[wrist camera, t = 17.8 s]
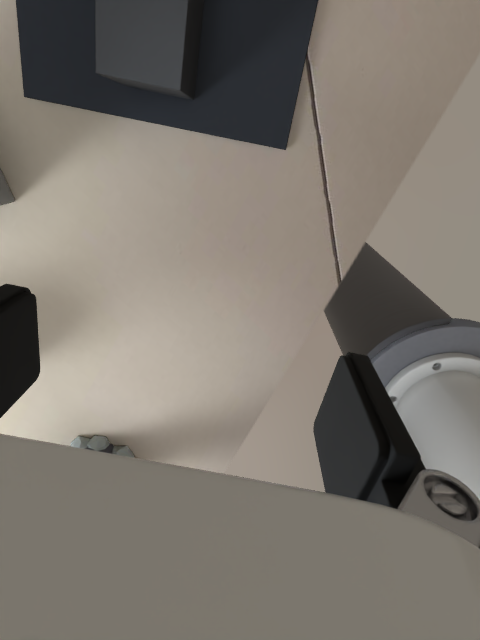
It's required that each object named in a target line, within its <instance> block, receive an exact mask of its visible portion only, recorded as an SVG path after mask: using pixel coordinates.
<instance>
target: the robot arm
mask: <svg viewBox="0 0 480 640" xmlns="http://www.w3.org/2000/svg"><path fill="white" fill-rule="evenodd" d="M39 373H40V355H39V338H38V322H37V305H36V297H35V295H34V294H31V292H30V290H29V289H28V288H25V287H20V286H15V285H10V284H4V285H2V286H0V418H1V417H2V416H3V415H4V414H5V413H6V412H7V411H8V409H9V408H10V407H11V406H12V405H13V404H14V403H15V402H16V401H17V400H18V399H19V398H20V397H21V396H22V395H23V394H24V393H25V392H26V390H27V389H28V388H29V387H30V386H31V385H32V384H33V383H34V382H35V381H36V380H37V378H38V376H39ZM314 436H315V441H316V447H317V452H318V457H319V462H320V467H321V472H322V477H323V482H324V487H325V492H326V493H325V492H319V491H314V490H309V489H303V488H298V487H292V486H287V485H281V484H276V483H271V482H265V481H259V480H254V479H249V478H244V477H238V476H233V475H226V474H222V473H216V472H211V471H205V470H200V469H194V468H188V467H183V466H177V465H172V464H166V463H161V462H155V461H149V460H144V459H138V458H133V457H127V456H121V455H116V454H110V453H105V452H99V451H94V450H88V449H82V448H77V447H71V446H66V445H60V444H55V443H49V442H43V441H38V440H32V439H27V438H21V437H16V436H10V435H4V434H0V640H480V358H479V357H476V356H473V355H471V354H465V353H442V354H435V355H432V356H429V357H425V358H422V359H420V360H418V361H416V362H414V363H412V364H410V365H409V366H407V367H405V368H404V369H402V370H401V371H400V372H399V373H398V374H397V375H395V376H394V377H393V378H392V380H391V381H390V382H389V383H388V385H387V386H386V387H384V385H383V384H382V382H381V380H380V378H379V376H378V374H377V372H376V370H375V368H374V367H373V365H372V363H371V361H370V359H369V357H368V356H365V355H360V354H355V353H350V352H349V353H347V354H346V356H340V358H339V360H338V362H337V365H336V367H335V370H334V373H333V375H332V378H331V380H330V383H329V386H328V388H327V391H326V393H325V396H324V399H323V401H322V404H321V406H320V409H319V412H318V414H317V417H316V419H315V422H314Z"/></svg>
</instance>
